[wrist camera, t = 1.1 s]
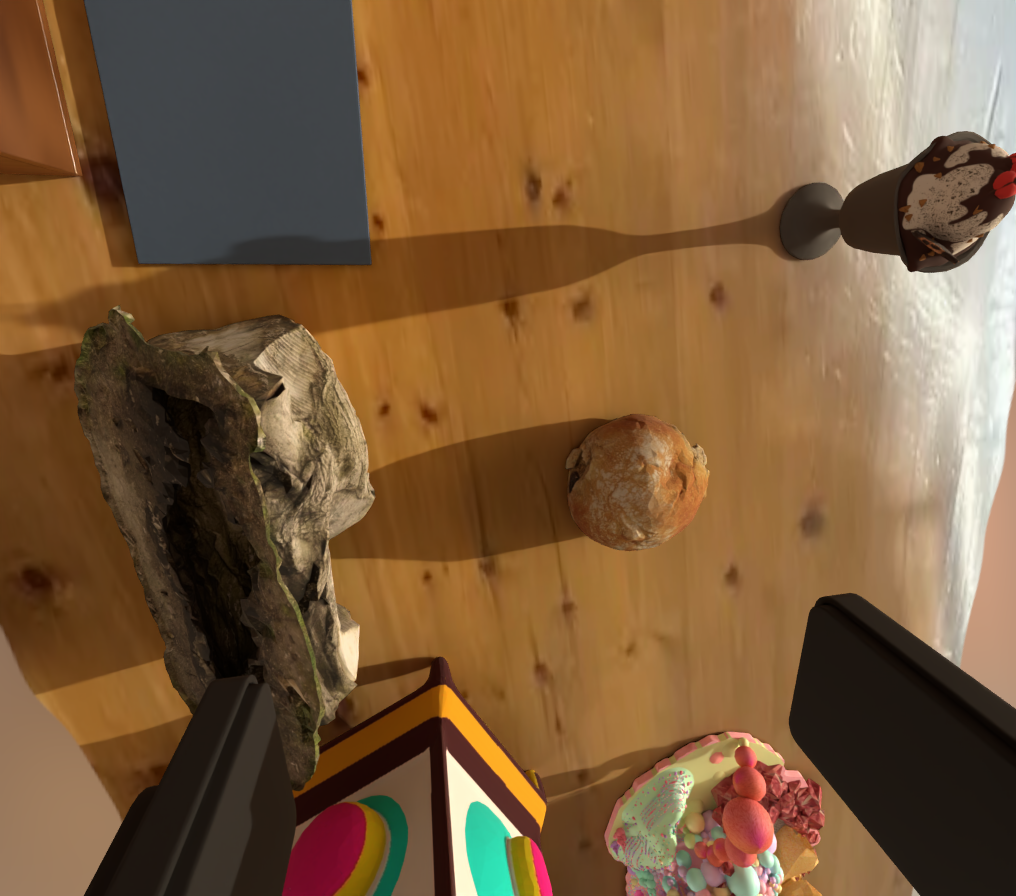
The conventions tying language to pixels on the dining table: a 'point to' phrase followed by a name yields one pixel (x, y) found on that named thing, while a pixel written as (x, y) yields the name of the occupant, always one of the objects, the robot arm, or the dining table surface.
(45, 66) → the basket
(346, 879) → the decorative lantern
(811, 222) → the sundae
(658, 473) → the bread roll
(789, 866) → the candy landscape model
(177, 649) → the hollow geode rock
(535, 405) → the dining table surface
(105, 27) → the placemat
